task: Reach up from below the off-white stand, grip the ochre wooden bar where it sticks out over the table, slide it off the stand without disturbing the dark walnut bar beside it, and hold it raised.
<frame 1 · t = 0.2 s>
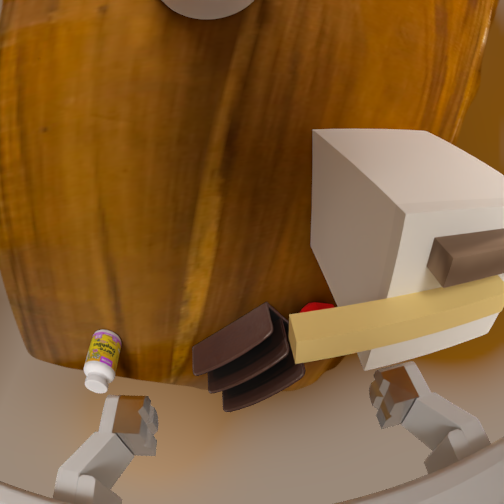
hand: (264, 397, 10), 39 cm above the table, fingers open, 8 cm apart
letter holder: (242, 335, 66), on the table
ball: (313, 309, 64), on the table
supplement bottle: (107, 337, 63), on the table
walnut bar: (483, 243, 25), point 26 cm above the table, touching off-white stand
ochre bar: (410, 304, 28), point 26 cm above the table, touching off-white stand
off-white stand: (369, 187, 50), on the table
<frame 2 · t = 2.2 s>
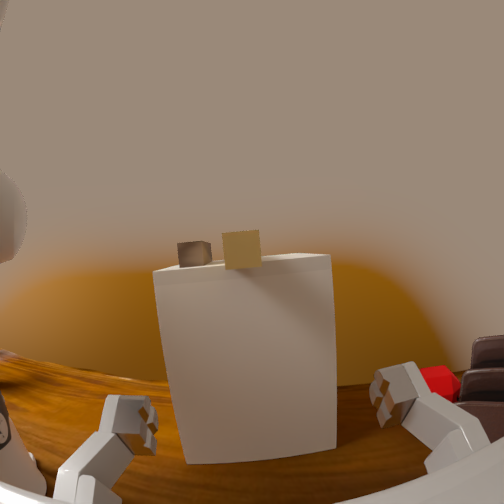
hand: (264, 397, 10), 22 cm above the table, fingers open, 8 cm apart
ball: (430, 416, 38), on the table
walnut bar: (198, 264, 46), point 26 cm above the table, touching off-white stand
ochre bar: (241, 262, 38), point 26 cm above the table, touching off-white stand
off-white stand: (257, 424, 46), on the table
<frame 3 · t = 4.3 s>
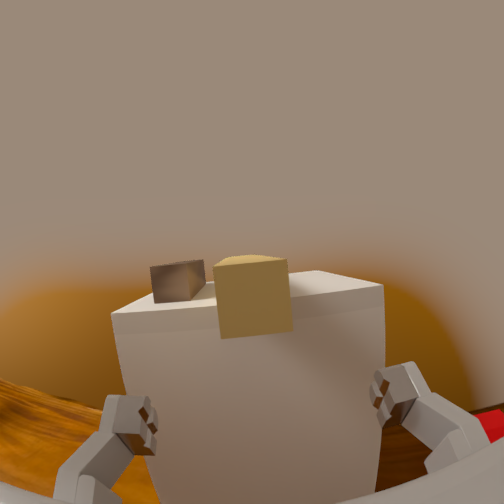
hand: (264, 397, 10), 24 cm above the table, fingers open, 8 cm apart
ball: (478, 468, 25), on the table
walnut bar: (185, 291, 32), point 26 cm above the table, touching off-white stand
ochre bar: (246, 296, 25), point 26 cm above the table, touching off-white stand
off-white stand: (266, 487, 32), on the table
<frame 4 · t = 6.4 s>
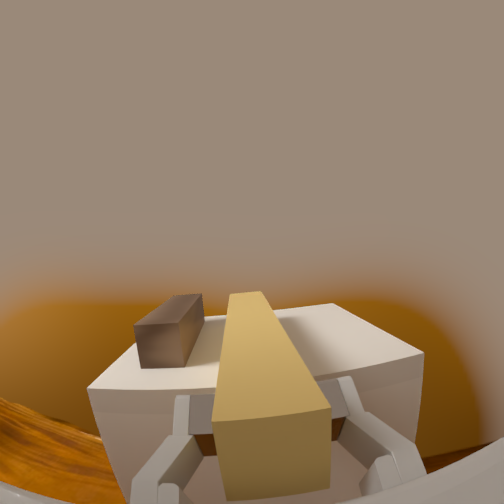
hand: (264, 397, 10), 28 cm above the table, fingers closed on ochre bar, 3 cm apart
walnut bar: (179, 340, 26), point 26 cm above the table, touching off-white stand
ochre bar: (255, 364, 19), point 26 cm above the table, touching gripper, off-white stand
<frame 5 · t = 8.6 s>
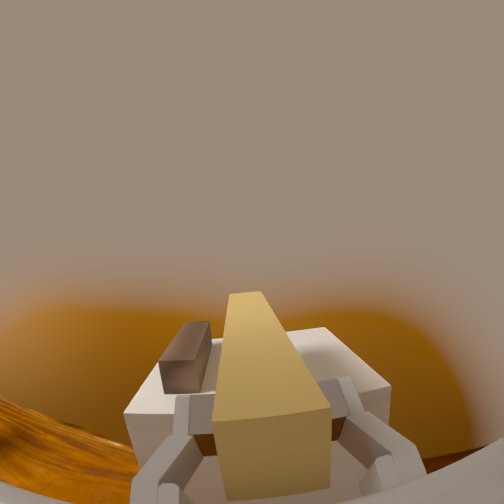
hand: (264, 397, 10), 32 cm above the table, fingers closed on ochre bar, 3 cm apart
walnut bar: (192, 365, 31), point 26 cm above the table, touching off-white stand
ochre bar: (255, 364, 19), point 30 cm above the table, touching gripper
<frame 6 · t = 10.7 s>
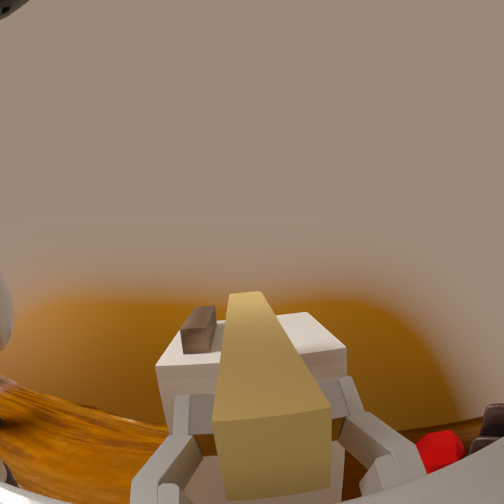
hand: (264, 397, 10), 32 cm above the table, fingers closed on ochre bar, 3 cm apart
ball: (432, 475, 34), on the table
walnut bar: (202, 337, 42), point 26 cm above the table, touching off-white stand
ochre bar: (255, 364, 19), point 30 cm above the table, touching gripper
off-white stand: (263, 481, 42), on the table
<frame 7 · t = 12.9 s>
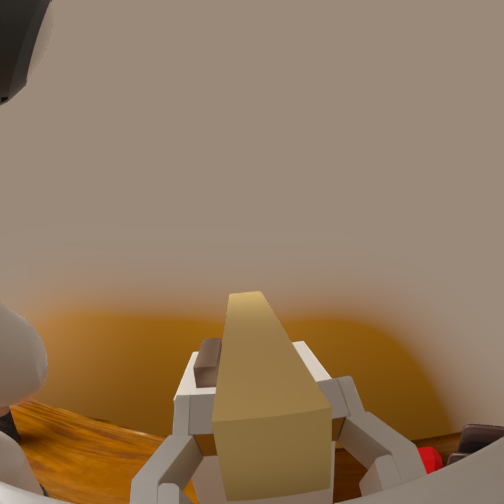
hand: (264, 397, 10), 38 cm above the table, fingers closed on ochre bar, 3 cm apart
travel mug: (8, 440, 54), on the table
ball: (415, 484, 39), on the table
walnut bar: (211, 369, 46), point 26 cm above the table, touching off-white stand
ochre bar: (255, 364, 19), point 36 cm above the table, touching gripper
off-white stand: (264, 489, 47), on the table
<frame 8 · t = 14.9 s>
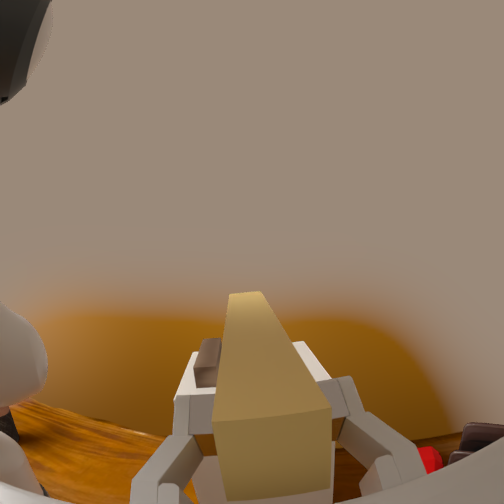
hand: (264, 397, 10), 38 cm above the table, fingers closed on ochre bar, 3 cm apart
travel mug: (8, 440, 54), on the table
ball: (415, 484, 39), on the table
walnut bar: (211, 369, 46), point 26 cm above the table, touching off-white stand
ochre bar: (255, 364, 19), point 36 cm above the table, touching gripper
off-white stand: (264, 489, 47), on the table
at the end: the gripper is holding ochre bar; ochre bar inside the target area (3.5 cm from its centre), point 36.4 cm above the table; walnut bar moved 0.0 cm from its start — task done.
